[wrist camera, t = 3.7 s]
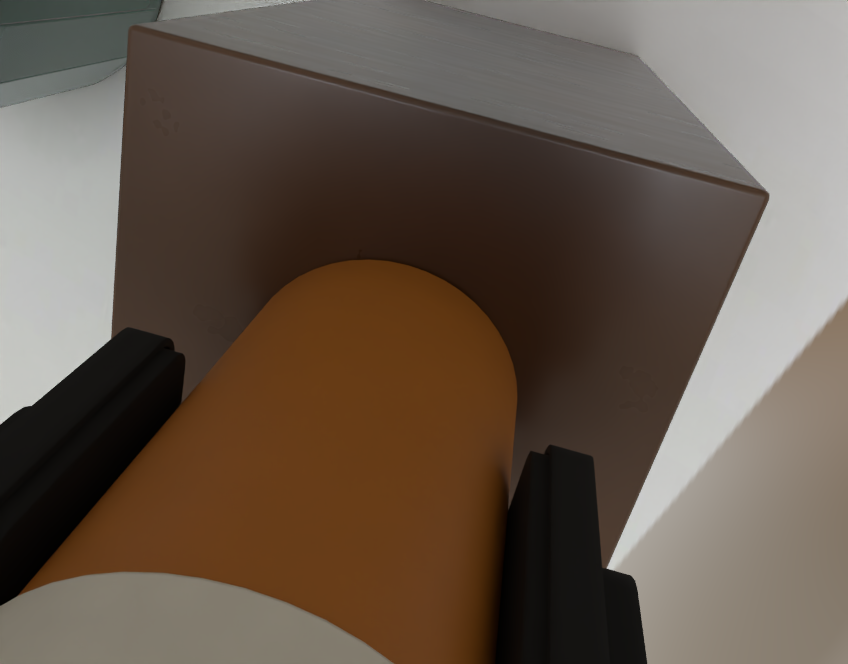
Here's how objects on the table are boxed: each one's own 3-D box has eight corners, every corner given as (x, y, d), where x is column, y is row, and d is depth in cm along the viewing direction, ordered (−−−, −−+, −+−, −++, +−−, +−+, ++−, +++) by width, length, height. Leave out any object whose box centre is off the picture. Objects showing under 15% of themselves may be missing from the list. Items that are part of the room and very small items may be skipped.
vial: (562, 298, 11) (577, 858, 4) (481, 537, 13) (398, 1192, 6) (259, 216, 12) (-223, 621, 4) (224, 464, 14) (-143, 1021, 6)
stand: (639, 56, 27) (773, 194, 10) (560, 293, 30) (567, 661, 14) (383, -11, 27) (125, 23, 11) (337, 233, 31) (98, 526, 15)
